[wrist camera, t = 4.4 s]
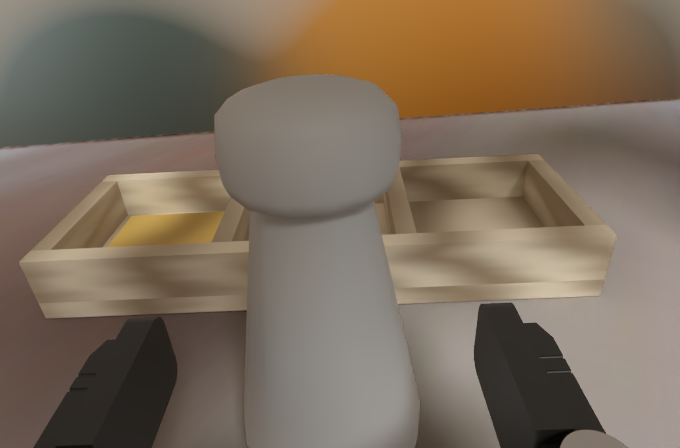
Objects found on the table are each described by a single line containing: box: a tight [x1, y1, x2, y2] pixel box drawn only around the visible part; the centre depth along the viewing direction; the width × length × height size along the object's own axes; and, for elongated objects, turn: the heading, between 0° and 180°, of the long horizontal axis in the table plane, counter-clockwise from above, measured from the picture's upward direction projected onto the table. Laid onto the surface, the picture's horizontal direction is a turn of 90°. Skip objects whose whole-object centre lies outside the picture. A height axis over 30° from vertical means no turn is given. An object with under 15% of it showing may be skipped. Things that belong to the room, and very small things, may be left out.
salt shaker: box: [215, 74, 421, 448], centre depth 14 cm, size 6×6×13 cm
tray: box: [19, 154, 617, 319], centre depth 27 cm, size 28×10×4 cm, turn 90°
